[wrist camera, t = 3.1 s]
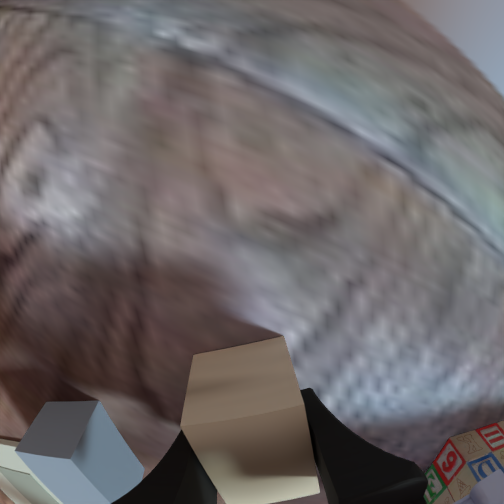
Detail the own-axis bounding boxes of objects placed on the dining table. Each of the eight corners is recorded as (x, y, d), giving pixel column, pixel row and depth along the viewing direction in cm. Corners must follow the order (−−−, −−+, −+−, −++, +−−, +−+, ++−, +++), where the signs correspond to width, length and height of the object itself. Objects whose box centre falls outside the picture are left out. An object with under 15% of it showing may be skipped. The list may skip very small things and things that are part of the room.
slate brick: (144, 467, 15) (131, 523, 11) (93, 465, 15) (75, 514, 11) (99, 399, 14) (70, 459, 9) (47, 400, 14) (14, 450, 10)
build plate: (135, 536, 18) (134, 541, 18) (33, 515, 18) (31, 519, 18) (46, 445, 15) (42, 452, 14) (-46, 427, 15) (-49, 431, 14)
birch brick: (302, 427, 15) (319, 492, 10) (228, 441, 15) (229, 508, 10) (283, 335, 13) (304, 404, 9) (193, 354, 13) (180, 425, 9)
